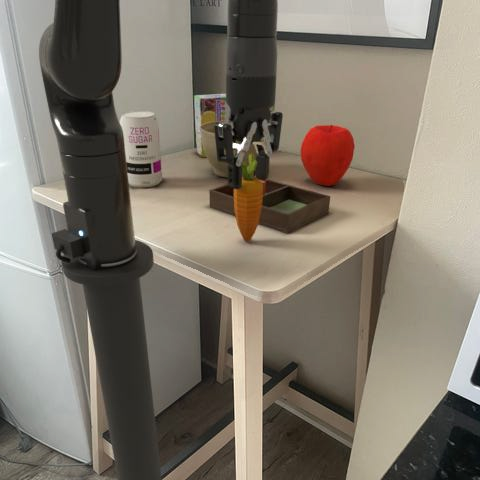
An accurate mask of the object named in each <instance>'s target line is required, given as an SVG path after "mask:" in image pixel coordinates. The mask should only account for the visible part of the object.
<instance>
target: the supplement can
mask: <svg viewBox="0 0 480 480" xmlns="http://www.w3.org/2000/svg"><path fill="white" fill-rule="evenodd" d="M119 122H120V125H121V127H122V130H123V135H124V144H125V154H126V164H127V173H128V182H129V186H131V187H134V188H140V189H141V188H152V187H156V186H159V184H160V183H161V182H162V181H163V172H162V158H161V144H160V130H159V129H160V128H159V120H158V119H157V117H156V114H155V113H154V112H153V111H147V110H133V111H126V112H123V113H121V117H120V119H119Z"/></svg>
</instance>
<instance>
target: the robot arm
mask: <svg viewBox="0 0 480 480" xmlns="http://www.w3.org/2000/svg"><path fill="white" fill-rule="evenodd" d="M120 1H121V0H54V14H53V21H52V23H50V24H49V25H48V26H47V27H46V28H45V29H44V31H43V33H42V35H41V37H40V40H39V45H38V59H39V66H40V72H41V77H42V83H43V88H44V93H45V97H46V103H47V107H48V108H47V109H48V113H49V117H50V122H51V125H52V129H53V131H54V135H55V138H56V144H57V148H58V153H59V158H60V164H61V169H62V175H63V181H64V185H65V186H64V187H65V191H66V197H67V201H64V202H63V204H62V206H63V212H64V219H65V223H66V228H64V229H60V230H58V231H54V232H51V239H52V243H53V247H54V250H56V251H55V256H56V258H57V259H58V260H59V261H60V262H61V261H64V262H67V263H69V262H70V261H71V260H70V259H69V258H67V257H63V255H64V254H65V255H67V256H69V257H71V258H73V260H75V261H77V262H79V263H80V264H82V265H84V266H86V267H88V268H90V269H92V270H94V271H97V270H100V269H107V268H115V267H119V266H123V265H125V264H128V263H130V262H131V261H133V260H134V259H135V258H136V256H137V249H136V245H135V240H136V237H135V227H134V219H133V211H132V201H131V192H130V191H131V190H130V184H129V182H128V173H127V164H126V154H125V144H124V135H123V130H122V127H121V125H120V119H119V118H118V115H117V111H116V107H115V101H114V94H113V92H114V91H115V88H116V87H117V85H118V83H119V80H120V78H121V74H122V65H123V59H122V58H123V55H122V53H123V52H122V31H121V30H122V28H121V3H120ZM278 3H279V1H278V0H227V17H226V19H227V23H226V25H227V29H226V30H227V37H226V48H225V94H226V103H227V105H228V106H229V107H230V116H229V119H228V121H226V122H223V123H220V122H216V123H215V125H214V130H215V140H216V151H217V160H218V161H219V162H223V163H226V164H227V166H228V178H227V184H228V185H229V186H230V187H231V188H234V189H240V188H241V187H242V166H240V165H241V163H242V160H243V157H244V154H245V153H246V152H247V151H248V149H249V146H250V144H252V143H253V144H254V146H255V149H256V152H257V154H259V155H256V161H257V166H256V168H255V173H254V176H256V178H259V179H262V180H265V179H269V174H270V173H269V172H270V158H271V157H272V156H273V155H272V154H273V152H274V151H276V152H277V151H278V150H279V148H280V142H281V132H282V126H283V125H282V124H283V118H284V117H283V116H284V115H283V113H282V112H281V111H270V107H272V106H274V104H275V105H276V91H277V75H278V74H277V71H278V44H277V43H278V42H277V34H278V12H279V4H278ZM271 134H273V136H274V138H273V142H271ZM236 140H237V141H238V143H242V144H240V145H239V144H236ZM224 149H225V150H226V155H224ZM236 150H238V152H237V155H236V157H234V153H235V151H236Z"/></svg>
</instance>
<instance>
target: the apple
mask: <svg viewBox="0 0 480 480" xmlns="http://www.w3.org/2000/svg"><path fill="white" fill-rule="evenodd" d="M299 152H300V159H301V162H302V165H303V168H304V169H305V171H306V173H307V175H308V176H309V179H310V180H311V181H312V182H313V183H314V184H317V185H320V186H322V187H323V186H324V187H329V186H335V185H337V184H338V183H339V182H340V180H342V179H343V177H344V176H345V175H346V173H347V171H348V170H349V168H350V165H351V164H352V161H353V159H354V152H355V140H354V136H353V135H352V132H351V131H350V130H349V129H348V128H346V127H343V126H339V125H333V124H321V125H315V126H313V127H311V128H310V129H308V131H307V132H306V134H305V136H304V138H303V140H302V142H301V146H300V151H299Z"/></svg>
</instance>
